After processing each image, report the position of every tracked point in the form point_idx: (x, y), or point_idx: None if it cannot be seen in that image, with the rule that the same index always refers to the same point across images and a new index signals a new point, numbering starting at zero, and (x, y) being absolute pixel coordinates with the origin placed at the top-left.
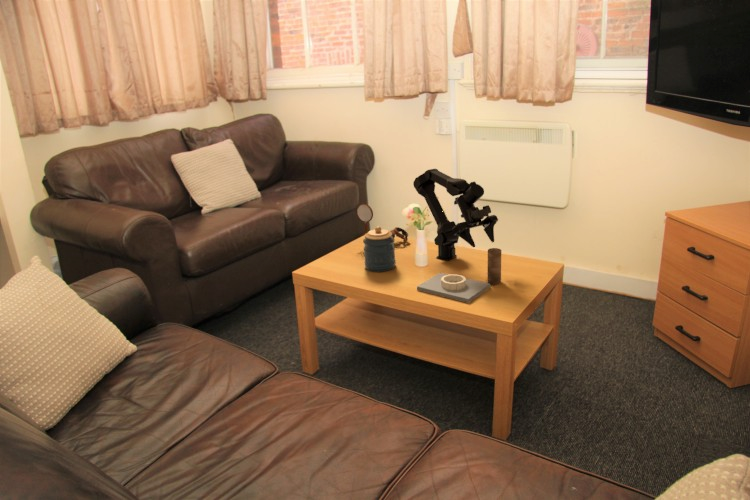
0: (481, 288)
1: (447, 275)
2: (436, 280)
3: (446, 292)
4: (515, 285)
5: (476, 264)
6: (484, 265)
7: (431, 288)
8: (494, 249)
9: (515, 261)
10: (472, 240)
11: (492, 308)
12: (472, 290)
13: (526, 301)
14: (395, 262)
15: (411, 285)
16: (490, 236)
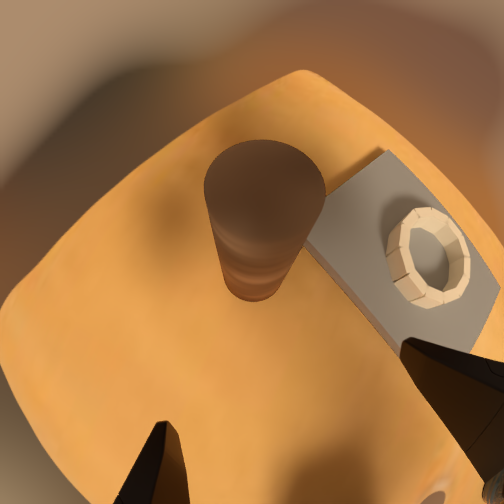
0: (338, 196)
1: (453, 294)
2: (463, 321)
3: (443, 213)
4: (185, 216)
5: (245, 492)
6: (213, 472)
7: (475, 258)
8: (257, 201)
9: (76, 442)
10: (453, 359)
11: (326, 112)
12: (371, 193)
13: (220, 114)
14: (494, 478)
15: (499, 329)
16: (173, 487)
